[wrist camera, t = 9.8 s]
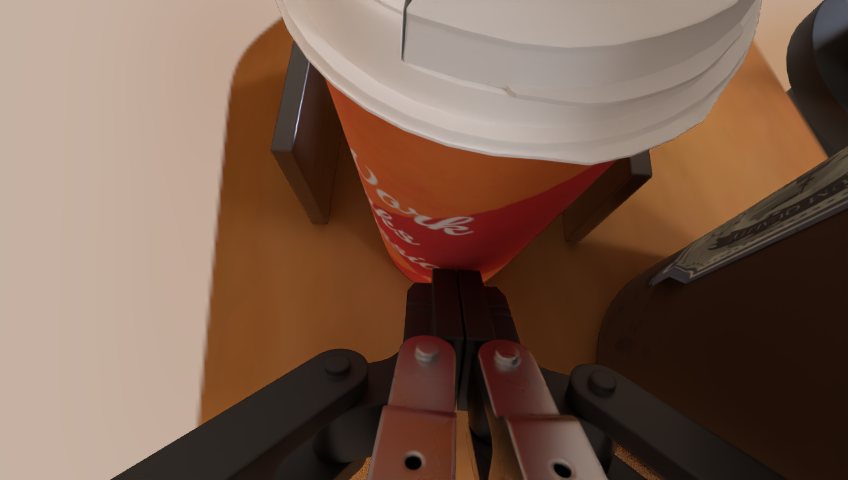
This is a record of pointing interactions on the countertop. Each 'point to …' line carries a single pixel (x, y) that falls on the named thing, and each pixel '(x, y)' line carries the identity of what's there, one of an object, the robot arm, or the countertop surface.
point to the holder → (320, 136)
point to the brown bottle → (752, 328)
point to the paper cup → (508, 106)
